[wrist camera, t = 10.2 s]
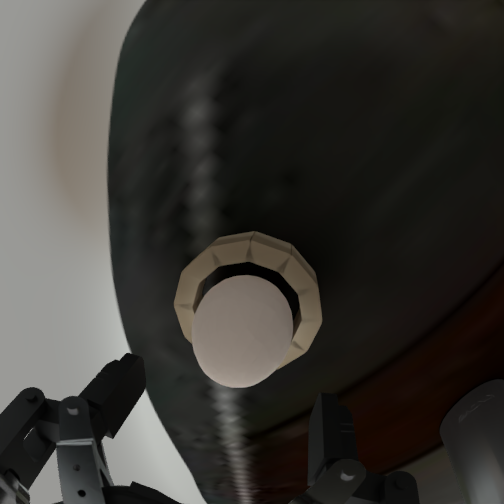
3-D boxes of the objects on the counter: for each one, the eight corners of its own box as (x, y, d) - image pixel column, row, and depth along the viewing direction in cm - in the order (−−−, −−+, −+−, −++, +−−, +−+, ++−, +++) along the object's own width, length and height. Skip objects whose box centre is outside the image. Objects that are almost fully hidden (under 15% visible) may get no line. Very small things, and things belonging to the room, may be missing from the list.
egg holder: (344, 307, 19) (349, 323, 17) (246, 370, 21) (241, 389, 19) (256, 203, 18) (252, 209, 16) (162, 287, 20) (149, 300, 18)
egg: (293, 333, 20) (291, 417, 12) (216, 332, 21) (182, 409, 13) (292, 258, 18) (292, 322, 11) (207, 259, 19) (158, 318, 12)
